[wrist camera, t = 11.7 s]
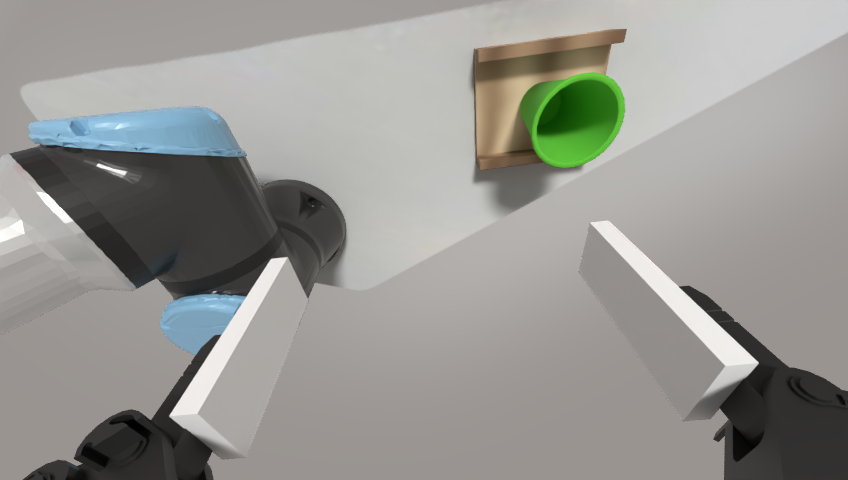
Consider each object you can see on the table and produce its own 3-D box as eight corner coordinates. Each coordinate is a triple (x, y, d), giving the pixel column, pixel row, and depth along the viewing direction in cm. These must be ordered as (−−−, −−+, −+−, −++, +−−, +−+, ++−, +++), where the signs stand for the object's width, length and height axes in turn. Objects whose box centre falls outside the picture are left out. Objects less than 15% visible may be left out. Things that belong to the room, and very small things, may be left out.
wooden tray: (476, 162, 44) (480, 170, 41) (474, 48, 36) (478, 49, 33) (588, 148, 43) (599, 155, 40) (610, 29, 35) (626, 28, 32)
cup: (576, 127, 40) (623, 153, 31) (509, 148, 42) (536, 179, 33) (574, 52, 35) (629, 57, 26) (498, 78, 37) (526, 92, 28)
